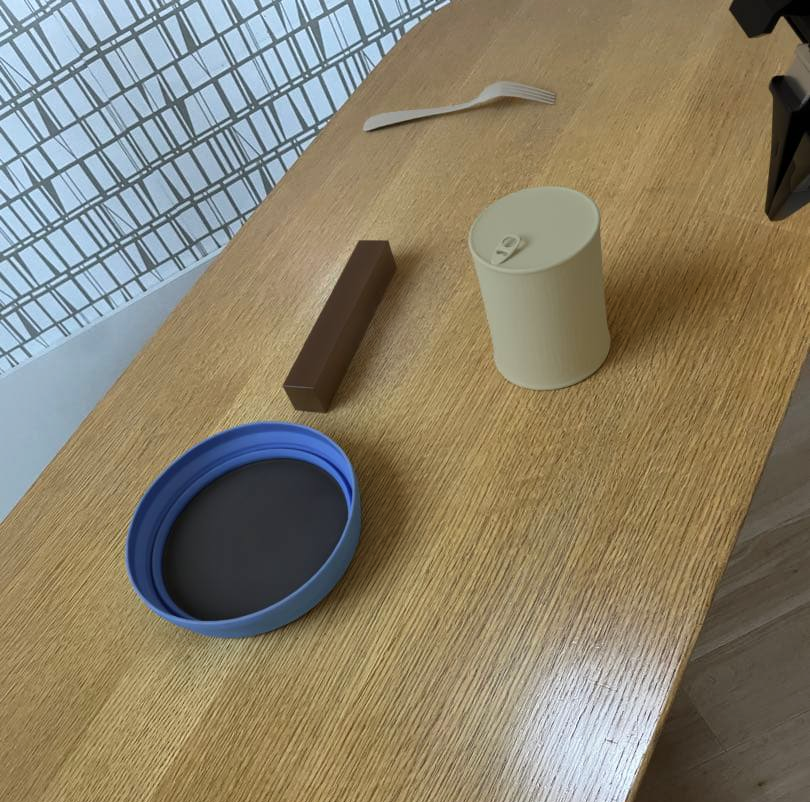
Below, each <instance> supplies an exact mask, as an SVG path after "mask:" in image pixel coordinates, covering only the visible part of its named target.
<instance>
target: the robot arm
mask: <svg viewBox="0 0 810 802" xmlns="http://www.w3.org/2000/svg"><path fill="white" fill-rule="evenodd" d="M728 11H729V12H730V14H731V15H732V17H733V18H734V19H735V21H736V22H737V24H738V25H739V27H740V28H741V29H742V31H743V32H744V34H745V35H746V36H747V38H748V39H759V38H762V37H765V36H768V35H771V34H772V33H773V31H774V30H775V28H776V26H777V25H778V22H779V21H780V19H781V18H783V19H784V20H785V22H786V23H787V24H788V25H789V27H790V28H791V30H792V31H793V32H794V34H795V35H796V36H797V38H798V39H799V41H800V42H801V43H798V44H797V45H796V47H795V49H794V51H793V52H794V53H795V55H796V56H795V57H794V59H793V61H792V63H790V66H789V67H788V69H787V70H786V72H785V74H777V75H774V76H772V77H771V79H770V81H769V83H768V91H769V92H770V94H771V97H772V111H771V143H770V156H769V166H768V177H767V186H766V195H765V205H764V214H765V215H766V217H768V220H769V222H780V221H784V220H786V219H788V218H789V217H791V216H792V215H794V214H795V213H797V212H798V211H799V210H801V209H803V208H804V207H805V206H807V205H809V204H810V0H732V1H731V3H730V6H729V7H728Z"/></svg>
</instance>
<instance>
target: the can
mask: <svg viewBox="0 0 810 802" xmlns="http://www.w3.org/2000/svg"><path fill="white" fill-rule="evenodd" d="M601 221H602V219H601V212H600V210H599V207H598V205H597V203H596V201H594V200H593V199H592V198H591V197H590V196H589V195H588V194H586V193H584V192H583V191H580V190H577V189H575V188H571V187H567V186H559V185H540V186H533V187H529V188H524V189H521V190H517V191H515V192H512V193H509V194H507V195H505V196H502V197H501V198H499V199H498V200H496V201H494V202H493V203H491V204H489V205H488V206H487V207H486V208H485V209H483V211H481V212H480V214H479V215H478V216H477V217H476V219H475V220H474V221H473V223H472V225H471V227H470V230H469V232H468V240H467V241H468V248H469V251H470V253H471V256H472V260H473V263H474V268H475V272H476V276H477V281H478V284H479V289H480V293H481V297H482V301H483V302H482V303H483V306H484V310H485V314H486V318H487V323H488V328H489V332H490V338H491V342H492V347H493V361H494V364H495V367H496V369H497V370H498V372H499V374H500V375H501V376H502V377H503V378H504V379H506V380H507V381H508V382H510V383H511V384H513V385H515V386H518V387H519V388H523V389H527V390H532V391H554V390H559V389H560V390H561V389H565V388H567V387H570V386H573V385H576V384H578V383H580V382H583V381H584V380H585V379H587V378H589V377H591V375H593V374H594V373H596V371H598V369H599V368H601V366H602V365H603V364H604V362H605V360H606V359H607V358H608V355H609V352H610V348H611V342H612V341H611V334H610V330H609V327H608V318H607V310H606V309H607V307H606V296H605V294H606V293H605V281H604V270H603V268H604V267H603V253H602V237H601Z"/></svg>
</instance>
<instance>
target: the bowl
mask: <svg viewBox="0 0 810 802" xmlns="http://www.w3.org/2000/svg"><path fill="white" fill-rule="evenodd" d="M359 485H360V484H359V480H358V477H357V473H356V471H355V469H354V466H353V464H352V462H351V460H350V459H349V457H348V456H347V454H346V452H345V451H344V450H343V448H341V446H340V445H339V444H338V443H337V442H336V441H335V440H334V439H332V438H331V437H330V436H328V435H327V434H325V433H324V432H322V431H320V430H318V429H316V428H313V427H311V426H308V425H304V424H301V423H297V422H296V423H295V422H292V421H291V422H289V421H280V420H260V421H253V422H247V423H244V424H243V423H242V424H239V425H236V426H232V427H230V428H226V429H223V430H222V431H219V432H217V433H214V434H213V435H211V436H209V437H207V438H205V439H203V440H201V441H199V442H197V443H196V444H195V445H193V446H192V447H190V448H189V449H187V450H186V451H184V453H183V452H182V454H181V455H179V456H178V457H177V458H176V459H174V460H173V461H172V462H171V463H170V464H169V465H168V466H167V467H166V468H165V469H163V471H162V472H160V474H159V475H158V476H157V478H156V479H154V480H153V482H152V483H151V484H150V485H149V487H148V488H147V489H146V491H145V492H144V494H143V496H142V497H141V498H140V500H139V502H138V503H137V506H136V508H135V510H134V513H133V514H132V517H131V520H130V523H129V526H128V530H127V534H126V538H125V539H126V540H125V550H124V552H125V555H124V556H125V557H124V558H125V567H126V572H127V576H128V579H129V581H130V584H131V586H132V588H133V590H134V591H135V593H136V594H137V595H138V597H139V598H140V600H142V602H143V603H144V604H145V605H146V606H147V608H149V609H150V610H151V611H152V612H153V613H154V614H156V615H157V616H159V617H160V618H162V619H163V620H165V621H167V622H169V623H172V624H173V625H175V626H176V627H177V626H178V627H180V628H183V629H184V630H185V629H186V630H188V631H191V632H193V633H196V634H198V635H201V636H202V635H203V636H206V637H209V638H210V637H211V638H218V639H240V638H248V637H253V636H258V635H261V634H265V633H268V632H271V631H274V630H278V629H279V628H281V627H285V626H286V625H288V624H290V623H291V622H294V621H295V620H298V619H299V618H300V617H303V616H304V615H305V614H306V613H308V612H309V611H310V610H311V609H313V608H314V607H316V606H317V605H318V604H319V603H320V602H322V601H323V600H324V598H326V597H327V595H329V593H330V592H331V591H332V590H333V589H334V588H335V587H336V585H337V584H338V583H339V581H340V580H341V579H342V577H343V576H344V574H345V572H346V571H347V569H348V568H349V566H350V565H351V562H352V560H353V557H354V555H355V553H356V550H357V547H358V544H359V540H360V537H361V529H362V509H361V494H360V493H361V492H360V486H359Z"/></svg>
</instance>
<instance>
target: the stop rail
mask: <svg viewBox="0 0 810 802" xmlns="http://www.w3.org/2000/svg"><path fill="white" fill-rule="evenodd" d="M396 269H397V263H396V260H395V258H394V254H393V250H392V248H391V245H390V241H389V240H388V239H387V240H386V239H385V240H383V239H379V240H378V239H375V240H374V239H359V240H358V241H357V243H356V245H355V247H354V249H353V251H352V252H351V254H350V256H349V258H348V260H347V262H346V264H345V265H344V267H343V270H342V272H341V273H340V275H339V277H338V279H337V281H336V282H335V284H334V287H333V288H332V291H330V294H329V296H328V298H327V300H326V302H325V304H324V306H323V307H322V310H321V311H320V313H319V315H318V317H317V319H316V321H315V323H314V325H313V327H312V329H311V331H310V332H309V334H308V336H307V337H306V340H305V341H304V343H303V345H302V348H301V350H300V351H299V353H298V355H297V357H296V359H295V361H294V362H293V364H292V366H291V368H290V370H289V372H288V374H287V375H286V378H285V380H284V381H283V383H282V388H283V390H284V392H285V394H286V396H287V397H288V399H289V401H290V403H291V405H292V407H293V409H294V411H300V412H309V413H320V414H326V413H327V412H328V410H329V408H330V406H331V404H332V401H333V400H334V397H335V396H336V393H337V391H338V390H339V387H340V385H341V383H342V382H343V379H344V377H345V376H346V373H347V371H348V369H349V367H350V365H351V363H352V360H353V358H354V356H355V354H356V352H357V350H358V348H359V346H360V344H361V342H362V340H363V338H364V335H365V334H366V332H367V330H368V327H369V325H370V323H371V321H372V319H373V316H374V315H375V312H376V310H377V308H378V307H379V306H380V305H379V304H380V303H381V300H382V298H383V297H384V295H385V292H386V290H387V288H388V287H389V284H390V282H391V280H392V278H393V275H394V274H395V272H396Z"/></svg>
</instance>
